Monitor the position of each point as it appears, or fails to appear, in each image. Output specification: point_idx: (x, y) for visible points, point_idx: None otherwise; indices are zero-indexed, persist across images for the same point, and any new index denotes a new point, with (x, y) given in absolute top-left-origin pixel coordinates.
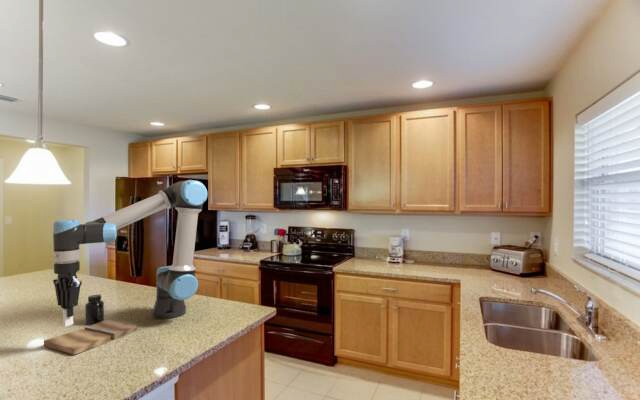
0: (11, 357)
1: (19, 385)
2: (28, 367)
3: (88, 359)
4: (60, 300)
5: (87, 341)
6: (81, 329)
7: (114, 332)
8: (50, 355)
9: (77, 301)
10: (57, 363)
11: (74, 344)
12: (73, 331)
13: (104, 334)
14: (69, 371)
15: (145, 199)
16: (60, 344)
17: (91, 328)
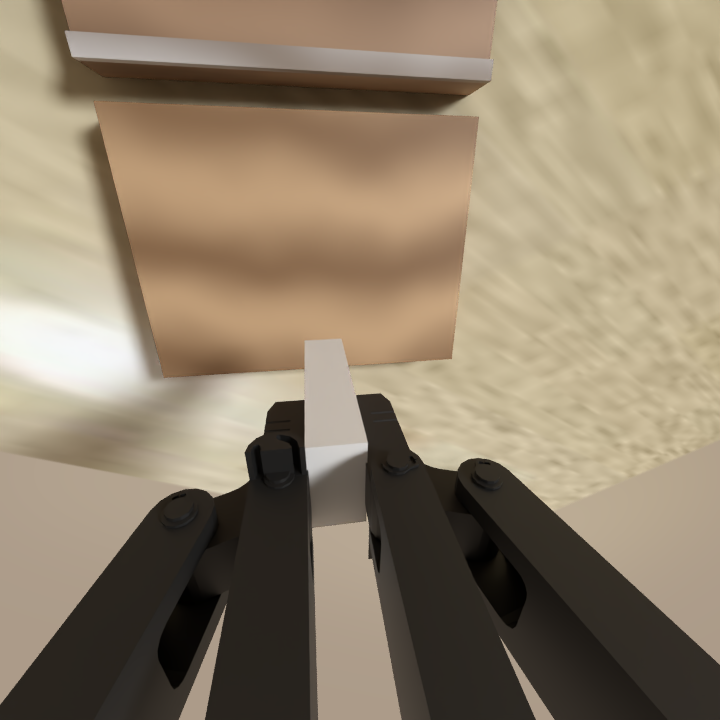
0: (191, 472)
1: None
2: None
3: (530, 336)
4: (198, 643)
5: (419, 264)
6: (117, 113)
7: (473, 59)
8: None
9: (556, 525)
10: (438, 410)
11: (394, 326)
12: (120, 183)
13: (413, 117)
14: (539, 418)
15: None
16: None
17: (188, 64)
